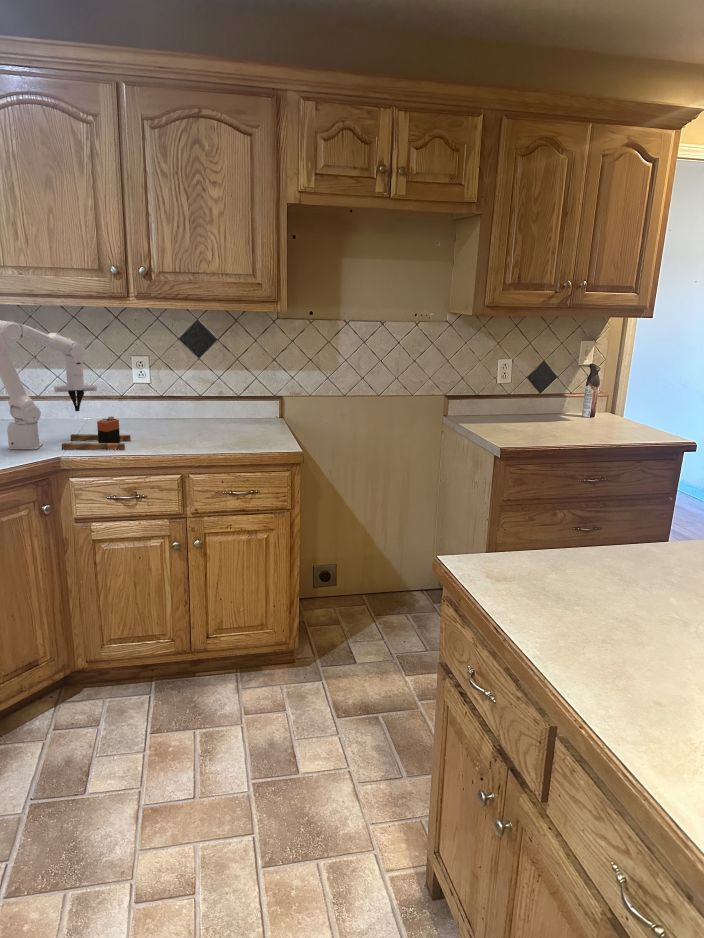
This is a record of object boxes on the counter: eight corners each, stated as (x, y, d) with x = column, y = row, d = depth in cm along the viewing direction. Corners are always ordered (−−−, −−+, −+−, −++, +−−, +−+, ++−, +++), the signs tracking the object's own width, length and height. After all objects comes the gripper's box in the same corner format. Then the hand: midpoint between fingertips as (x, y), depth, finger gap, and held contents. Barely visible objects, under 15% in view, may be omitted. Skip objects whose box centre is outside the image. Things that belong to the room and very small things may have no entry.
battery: (120, 443, 250) (119, 416, 247) (107, 447, 244) (105, 420, 241) (111, 441, 252) (110, 415, 249) (97, 445, 246) (96, 418, 243)
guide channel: (61, 449, 238) (61, 444, 237) (71, 439, 252) (71, 434, 252) (123, 450, 241) (123, 444, 241) (130, 439, 255) (130, 434, 255)
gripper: (53, 376, 242) (56, 413, 246) (96, 375, 248) (98, 412, 251) (53, 373, 248) (55, 409, 252) (95, 372, 254) (97, 408, 258)
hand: (77, 410), depth 252 cm, fingers closed
